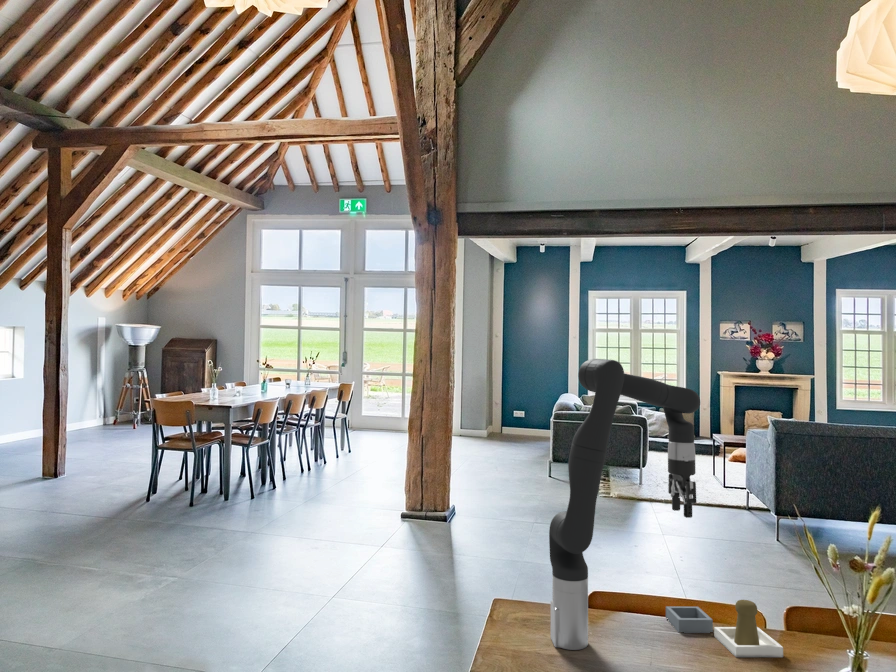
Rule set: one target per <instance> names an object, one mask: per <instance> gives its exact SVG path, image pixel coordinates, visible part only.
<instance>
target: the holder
mask: <svg viewBox="0 0 896 672" xmlns="http://www.w3.org/2000/svg"><path fill="white" fill-rule="evenodd" d="M666 618H668V620H669V622H670V623H671V624H672V625H673V626H674V627H675V628H674V627H673V626H672V625H671V624H670V623H669V622H668V623H669V624H670V625H671V626H672V627H673V628H674V629H675V630H676V631H677V633H679V632H684V633H683V634H693V633H694V634H698V633H699V634H702V633H703V634H711V633H710V632H713V633H714V622H713V621H714V620H713V618H712V617H710V616H709V615H708V614H707V613H706V612H705V611H704V610H703V609H702V608H700V607H699V606H679V605H678V606H677V605H676V606H674V605H673V606H671V605H670V606H667V605H666V606H665V619H666Z"/></svg>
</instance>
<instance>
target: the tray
mask: <svg viewBox="0 0 896 672" xmlns="http://www.w3.org/2000/svg"><path fill="white" fill-rule="evenodd" d="M735 631H736V626H713V637H714V638H715V639H716V640H717V641H718V642H719V643H720V644H721V645H722V646H723V647H724V648H725V649H726V650H728V652H730V653H731V654H732V655H733V656H734V657H735V658H784V647H783V646H782V645H781V644H780V643H779V642H778V641H776V640H775V639H774V638H772V637H771V636H770V635H769V634H767V633H766V632H765V631H763V630H762V629H761V628H760V627H758V626H757V631H758V638H759V645H737V644H736V643H735V642H734V639H735Z"/></svg>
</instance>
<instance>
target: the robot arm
mask: <svg viewBox="0 0 896 672" xmlns="http://www.w3.org/2000/svg"><path fill="white" fill-rule="evenodd" d="M577 376H578V380H579V383H580V385H581V386H582V387H583V388H584V389H585V390H587V391H589V392H592V393H594V398H593V402H592V406H591V408H590V411H589V413H588V415H587V417H586V418H585V419H584V421H583V422H582V423H581V424H580V426H579V427H578V429H577V430H576V431H575V433H574V436H573V438H572V441H571V445H570V446H571V447H570V449H569V450H570V451H569V456H568V480H569V481H568V482H569V500H568V505H567V509H566V511H560V512H557V514H555V515H554V516H553V518H552V519H551V521H550V525H549V530H548V531H549V533H548V535H549V537H548V538H549V539H548V540H549V541H548V543H549V546H548V547H549V560H550V564H551V568H552V577H551V579H552V585H551V586H552V587H551V588H552V598H551V599H552V600H551V601H550V639H551V641H552V644H553V646H554V647H555V648H560V649H563V650H568V651H569V650H570V651H578V650H583V649H586V648H587V646H589V567H588V565H587V563H586V561H585V558H584V552H585V551H587V549H588V548H589V547H590V545H591V543H592V540H593V537H594V529H595V528H594V527H595V517H596V508H597V507H596V506H597V499H598V495H599V490H600V484H601V480H602V474H603V469H604V466H605V461H606V456H607V451H608V445H609V440H610V434H611V430H612V426H613V421H614V416H615V413H616V410H617V407H618V405H619V404H618V403H619V400H620V397H621V396H624V397H627V398H629V399H632V400H636V401H638V402H642V403H645V404H647V405H652V406H655V407H659V408H660V407H661V408H663V412H664V413H663V414H664V416H665V420H666V423H667V426H668V445H667V472H668V486H667V487H668V488H667V489H668V490H667V491H668V494H670V497H671V509H672V511H675V512H676V511H678V512H679V511H680V510H681V498H682V501H683V517H684V518H687V519H688V518H690V519H691V518H693V505H694V504H697V484H696V481H691V476H695V475H696V445H695V425H694V424H693V423H692V422H690V421H688V420H686V419H685V418H684V415H683V414H693V413H695V412H696V411H698V410H699V408H700V406H701V399H700V396H699V395H698V393H697V392H696V391H694V390H693V389H690V388H687V387H682V386H677V385H671V384H667V383H665V382H663V381H659V380H656V379H653V378H649V377H644V376H640V375H634V374H628V373H625V370H624V366H622V364H621V363H620V362H619V361H618V360H614V359H605V358H603V359H602V358H591V359H588V360H586V361H584V362H583V363H582V364H581V365H580V367H579V369H578V375H577Z"/></svg>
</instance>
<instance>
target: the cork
mask: <svg viewBox="0 0 896 672" xmlns="http://www.w3.org/2000/svg"><path fill="white" fill-rule="evenodd" d="M734 608H735V611H736V612H737V618H736V624H735V625H736V626H735V627H736V631H735V639H734V642H735V643H736V644H737V645H759V638H758V631H757V627H758V625H757V619H756V615H758V606H757V604H756V603H755V602H753V601H751V600H749V599H748V600H747V599H739V600H737V601H735V607H734Z"/></svg>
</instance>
